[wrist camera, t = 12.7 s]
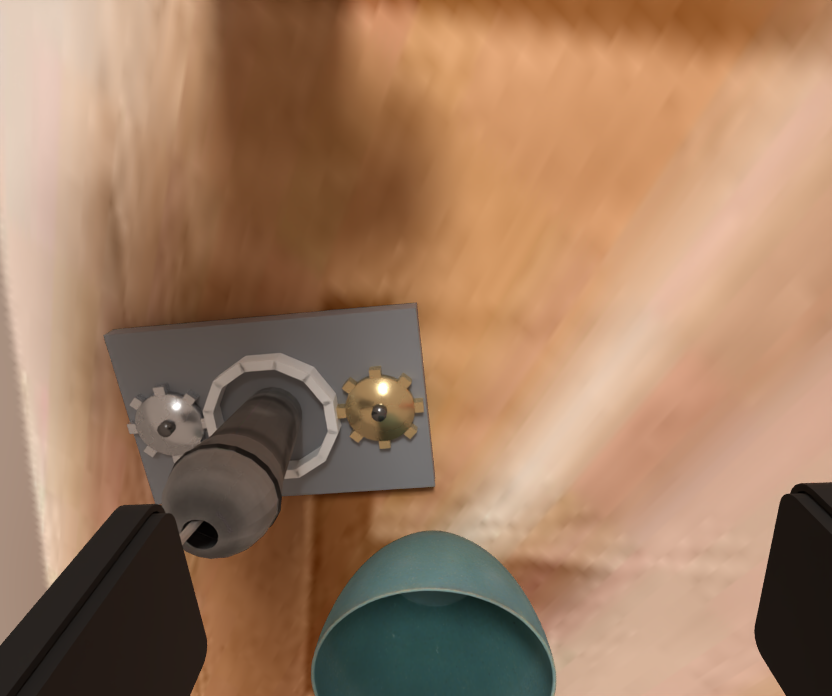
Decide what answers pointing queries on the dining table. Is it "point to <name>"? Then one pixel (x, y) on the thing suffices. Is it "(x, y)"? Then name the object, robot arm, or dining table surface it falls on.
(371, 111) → the dining table surface
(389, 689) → the plant pot
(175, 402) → the gear
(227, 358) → the gear board
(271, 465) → the beverage cup
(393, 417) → the gear
